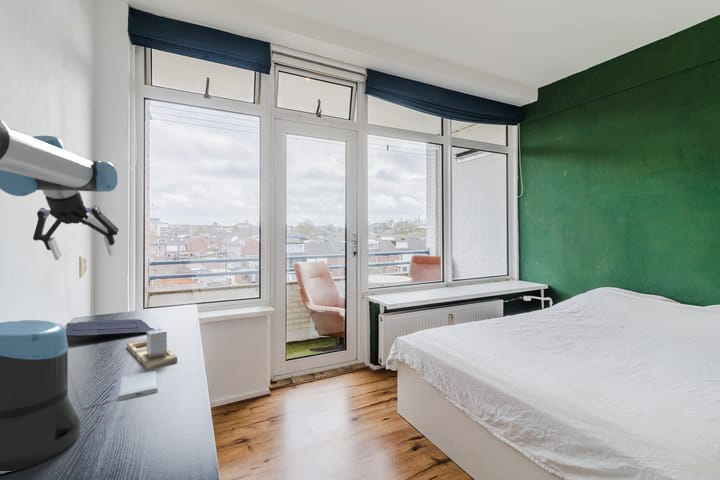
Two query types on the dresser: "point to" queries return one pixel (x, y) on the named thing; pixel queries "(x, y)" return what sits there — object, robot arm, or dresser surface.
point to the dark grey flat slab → (107, 327)
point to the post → (156, 344)
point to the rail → (141, 354)
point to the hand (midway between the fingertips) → (85, 255)
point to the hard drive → (138, 385)
